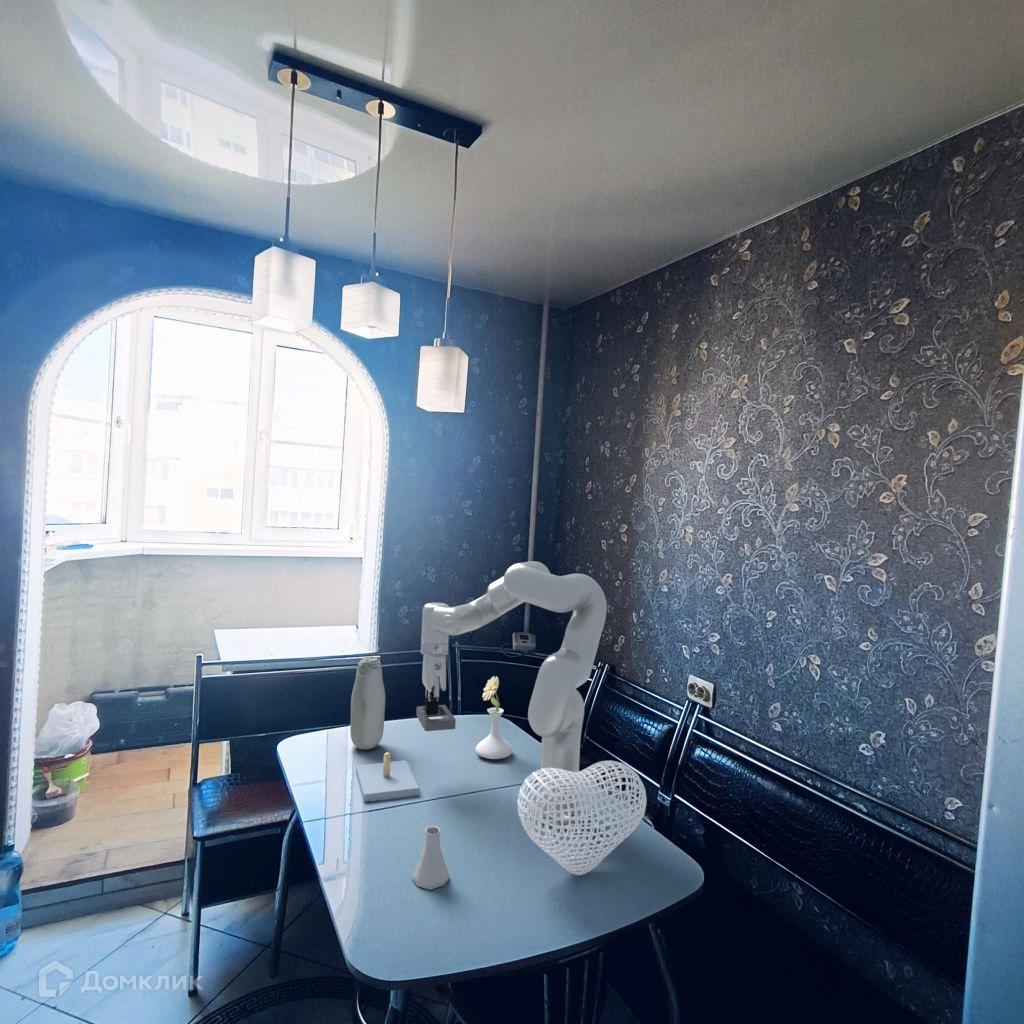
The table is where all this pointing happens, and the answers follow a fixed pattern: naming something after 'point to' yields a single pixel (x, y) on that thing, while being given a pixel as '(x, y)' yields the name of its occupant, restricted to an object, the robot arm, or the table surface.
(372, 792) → the board
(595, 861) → the heart
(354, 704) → the tall cream vase
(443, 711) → the steel link
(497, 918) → the table surface
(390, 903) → the table surface
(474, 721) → the table surface
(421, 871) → the flask
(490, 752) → the flower in vase
